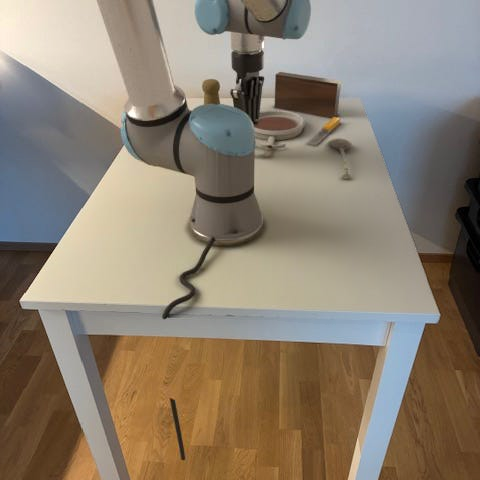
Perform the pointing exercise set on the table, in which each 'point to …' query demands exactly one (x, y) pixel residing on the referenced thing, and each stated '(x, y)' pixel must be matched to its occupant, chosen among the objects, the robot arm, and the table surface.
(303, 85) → the wooden block
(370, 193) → the table surface
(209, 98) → the cork
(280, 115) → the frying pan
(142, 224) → the table surface
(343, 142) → the soupspoon
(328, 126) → the knife
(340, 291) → the table surface
